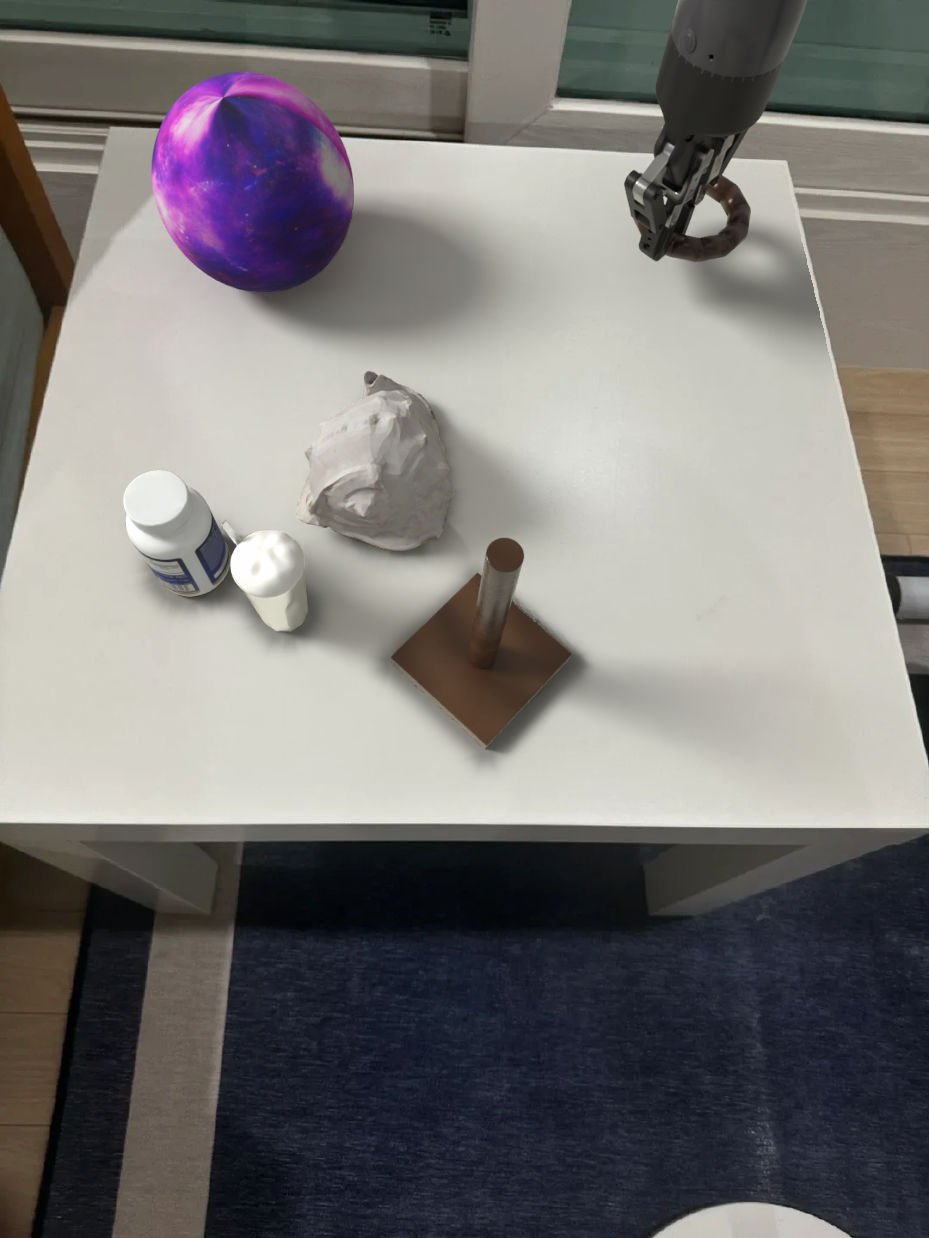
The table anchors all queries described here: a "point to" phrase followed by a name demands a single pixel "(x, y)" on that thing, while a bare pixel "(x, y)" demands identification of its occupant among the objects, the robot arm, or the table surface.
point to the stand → (483, 650)
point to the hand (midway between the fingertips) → (660, 244)
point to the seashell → (379, 470)
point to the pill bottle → (175, 533)
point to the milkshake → (271, 576)
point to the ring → (726, 238)
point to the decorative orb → (252, 182)
